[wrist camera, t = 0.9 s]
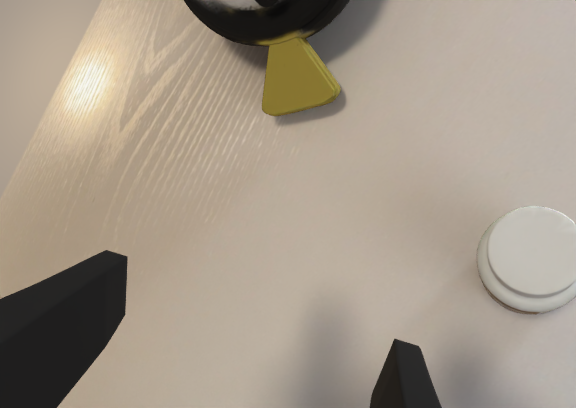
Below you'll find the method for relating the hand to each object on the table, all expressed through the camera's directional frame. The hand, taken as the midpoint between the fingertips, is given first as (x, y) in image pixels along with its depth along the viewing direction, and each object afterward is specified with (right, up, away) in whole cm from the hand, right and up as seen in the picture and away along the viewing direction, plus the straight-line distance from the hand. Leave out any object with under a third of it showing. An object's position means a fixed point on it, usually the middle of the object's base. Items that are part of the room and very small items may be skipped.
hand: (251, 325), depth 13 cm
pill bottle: (+13, 0, +13) cm, 19 cm away
